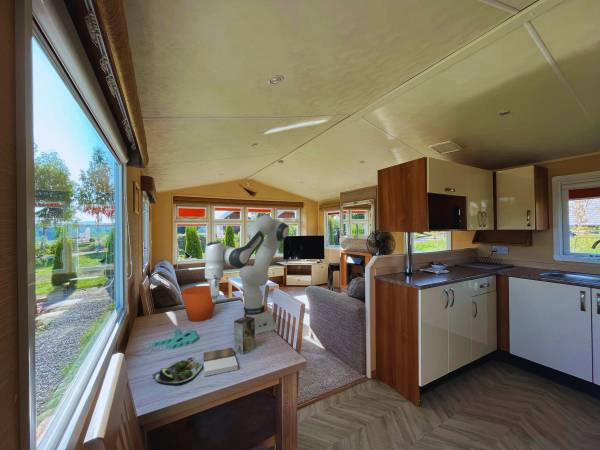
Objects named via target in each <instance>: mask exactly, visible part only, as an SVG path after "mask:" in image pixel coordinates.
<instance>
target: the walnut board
mask: <svg viewBox="0 0 600 450" xmlns="http://www.w3.org/2000/svg"><path fill="white" fill-rule="evenodd" d="M233 356H235V352H234V347H229V348H228V347H227V348H222V349H216V350H211V351H205V352H203V363H204V362H206V361H212V360H217V359H222V358H227V357H233ZM235 357H236V356H235Z"/></svg>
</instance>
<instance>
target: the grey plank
mask: <svg viewBox="0 0 600 450" xmlns="http://www.w3.org/2000/svg"><path fill="white" fill-rule="evenodd" d="M238 365H239V364H238V362H237V358H236V356H233V357H227V358H222V359H217V360H212V361H206V362H204V361H203V370H204V371H203V373H204V375H203V376H204V377H208V376H213V375H214V376H215V375H218V374H222V373H228V372H232V371H236V370H239V369H238V367H239V366H238Z"/></svg>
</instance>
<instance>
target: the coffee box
mask: <svg viewBox="0 0 600 450" xmlns="http://www.w3.org/2000/svg"><path fill="white" fill-rule="evenodd" d="M233 330H234V331H233V335H234V337H233V339H234V340H233V341H234V344H233V346H234V347H233V351H234V353H237V354H239V355H242V356H244V355H245V354H247V353H249V352H250V351H252V350H254V349H256V334H255V318H252V317H248V316H245V317H244V316H243V317H240V318H238V319H236V320H235V321H233Z"/></svg>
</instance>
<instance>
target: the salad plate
mask: <svg viewBox="0 0 600 450" xmlns="http://www.w3.org/2000/svg"><path fill="white" fill-rule="evenodd" d="M193 359H194V358H193V357H189V358H185V359H182V360H179V361H178V360H177V361H175V362H171V363H170V364H169V365H167V366H166V367H162V368H160V370H159V371H157V372H155V373H153V374H151V377H154V378H155V381H156V383H158V384H160V385H163V386H172V387H175V386H181V385H186V384H187V383H189V382H191V381H192V380H193V379H194V378H196V375H197V374H199V373H200V371H201V370H202V369H203V364H202V362H200V361H199V362H198V361H192V360H193ZM192 369H195V370H196V371H192Z"/></svg>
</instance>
